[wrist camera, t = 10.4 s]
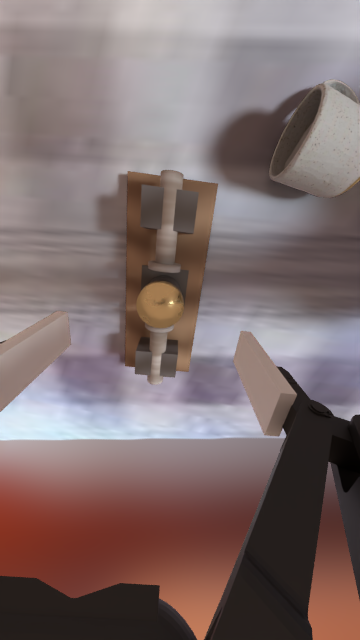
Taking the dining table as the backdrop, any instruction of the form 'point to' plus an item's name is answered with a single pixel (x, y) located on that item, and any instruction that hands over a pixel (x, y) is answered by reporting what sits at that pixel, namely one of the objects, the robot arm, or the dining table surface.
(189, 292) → the shaft bench
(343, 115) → the ceramic mug
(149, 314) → the knob
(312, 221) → the dining table surface
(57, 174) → the dining table surface
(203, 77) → the dining table surface
